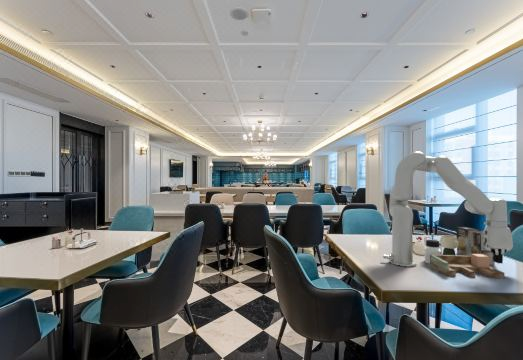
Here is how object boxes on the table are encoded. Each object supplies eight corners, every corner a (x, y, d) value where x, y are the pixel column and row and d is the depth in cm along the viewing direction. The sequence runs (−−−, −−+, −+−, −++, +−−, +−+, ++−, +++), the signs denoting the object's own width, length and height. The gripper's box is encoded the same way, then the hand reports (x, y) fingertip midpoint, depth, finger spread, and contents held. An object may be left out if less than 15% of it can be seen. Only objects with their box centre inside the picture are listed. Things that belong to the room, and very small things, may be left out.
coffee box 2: (495, 265, 133) (494, 233, 133) (481, 264, 134) (480, 233, 134) (484, 260, 142) (483, 230, 142) (470, 259, 143) (470, 230, 143)
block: (478, 267, 122) (478, 256, 122) (471, 263, 127) (470, 253, 127) (489, 267, 121) (489, 256, 121) (482, 264, 126) (481, 254, 126)
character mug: (463, 261, 138) (463, 237, 138) (452, 262, 137) (452, 238, 137) (446, 256, 149) (445, 234, 149) (435, 257, 148) (435, 234, 148)
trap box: (446, 275, 117) (445, 262, 117) (430, 266, 131) (429, 254, 131) (504, 278, 114) (504, 264, 114) (481, 268, 128) (481, 256, 128)
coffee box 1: (456, 253, 156) (455, 226, 157) (466, 253, 156) (466, 226, 157) (468, 257, 147) (467, 229, 147) (479, 257, 147) (478, 229, 147)
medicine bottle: (441, 265, 133) (441, 242, 133) (425, 263, 136) (424, 240, 137) (440, 261, 139) (440, 239, 139) (424, 259, 142) (424, 238, 143)
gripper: (485, 225, 120) (486, 264, 120) (520, 225, 119) (522, 265, 118) (474, 223, 128) (475, 260, 127) (507, 223, 126) (509, 260, 125)
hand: (498, 262), depth 123 cm, fingers closed
